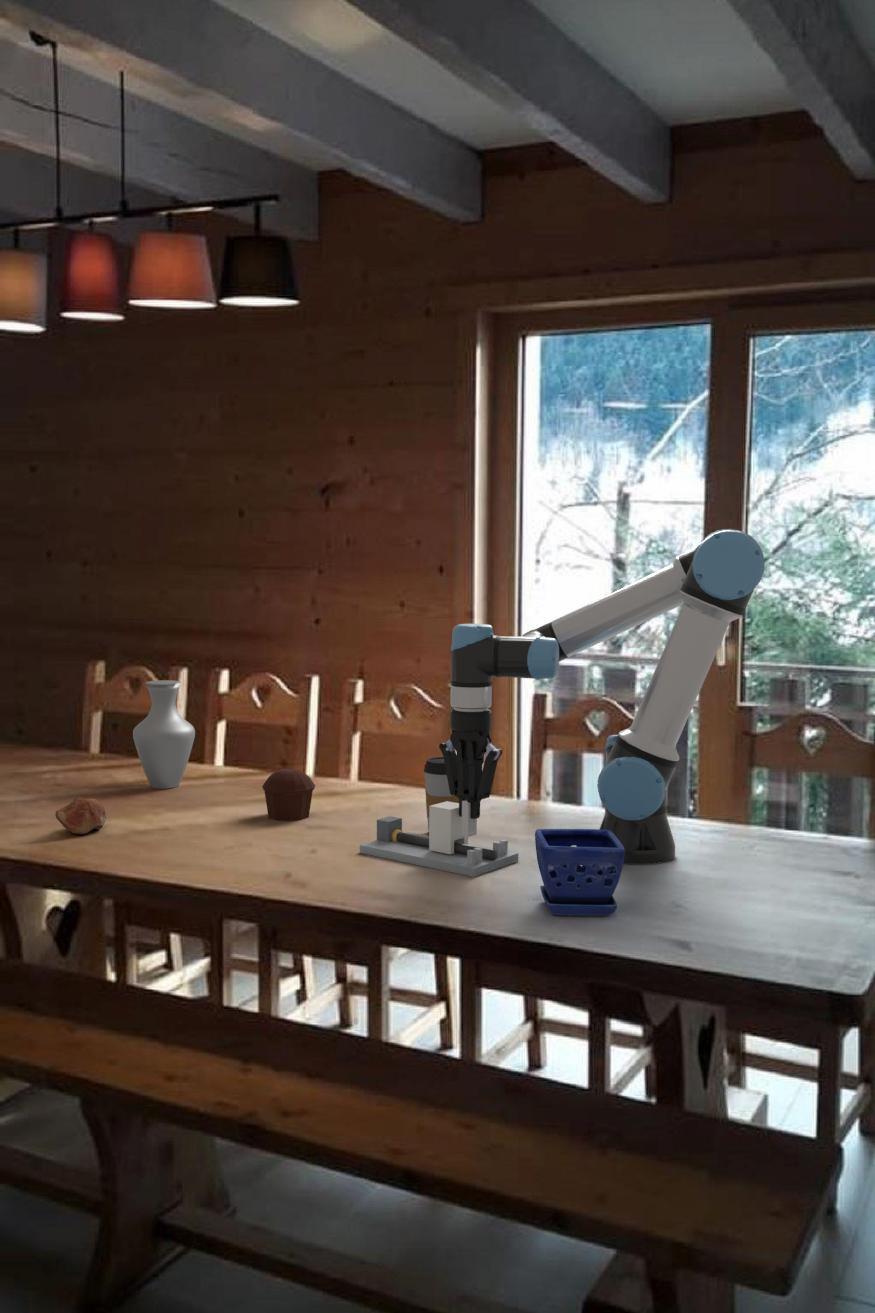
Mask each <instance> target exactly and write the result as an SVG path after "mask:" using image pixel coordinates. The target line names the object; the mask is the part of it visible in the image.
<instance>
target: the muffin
mask: <svg viewBox="0 0 875 1313" xmlns="http://www.w3.org/2000/svg"><path fill="white" fill-rule="evenodd" d="M315 789H316V784H315V783H314V782H313V780H312V778H311V777H310V776H309V775H307V774H306V773H305V772H303V771H302V770H300V769H297V768H281V769H277V770H276V771H274V772H273V773H271V774H270V775H269V776H268V778H267V779H266V780H265V782H264V783H263V785H262V790H263V791H264V792H263V793H264V797H265V802H266V804H265V805H266V809H267V816H268V819H273V820H274V821H275V820H276V821H287V822H291V821H301V820H304V819H309V818H310V811H311V804H312V798H313V792H314V790H315Z"/></svg>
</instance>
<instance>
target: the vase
mask: <svg viewBox="0 0 875 1313" xmlns="http://www.w3.org/2000/svg"><path fill="white" fill-rule="evenodd" d="M145 684H146V687H147V690H148V692H149V695H150V699H151V707H150V710H149V713H148V715H147V716H146V717H145V718H143V720H142V721H140V722H139V723H138V724H137V725H135V727H134V728H133V731H132V738H133V742H134V745H135V746H134V747H135V748H136V751H137V755H138V758H139V761H140V764H141V767H142V769H143V771H144V775H145V777H146V779H147V781H148V782H149V786H150V787H151V788H153V789H156V790H157V789H158V790H163V789H165V790H166V789H167V790H169V789H175V788H178V787H180V784H181V782H182V779H183V776H184V773H185V771H186V769H187V766H188V762H189V760H190V755H191V752H192V748H193V745H194V741H195V737H196V729H195V727H194V726H193V724H191V723H190V722H189V721H187V720H186V719H184V718H183V717H182V716H181V714H180V713H179V711H178V709H177V706H176V703H177V702H176V701H177V696H178V692H179V689H180V686H181V685H182V682H181V681H180V680H179V681H178V680H173V679H172V680H168V679H167V680H166V679H165V680H164V679H162V680H151V681H145Z"/></svg>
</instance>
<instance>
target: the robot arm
mask: <svg viewBox="0 0 875 1313" xmlns="http://www.w3.org/2000/svg"><path fill="white" fill-rule="evenodd" d="M764 571H765V557H764V553H763V550H762V548H761V546H760V545H759V543H758V542H757V541H756V540H755V539H754V538H753V537H752V536H751V535H750V534H747V533H746V532H744V531H741V530H738V529H735V528H723V529H719V530H716V531H714V532H711V533H710V534H708V535H706V536H705V538H703V539H702V540H701V541H700V543H698V544H697V545H695V546H693V547H692V548H690V549H688V550H687V551H685V552H683V553H682V554H680V555H677V556H675V559H674V561H673V563H672V564H670V565H668V566H665V567H664V568H661V569H660V570H657V571H655V572H653V573H651V574H649V575H647V576H645V577H643V578H640V579H638V580H636V581H634V582H632V583H630V584H628V585H625V586H624V587H622V588H620V589H617V590H616V591H613V592H611V593H609V594H606V595H605V596H602V597H600V598H599V599H596V600H593V601H592V602H590V603H588V604H586V605H584V606H582V607H579V608H577V609H575V610H573V611H571V612H569V613H566V614H564V615H563V616H560V617H558V618H556V619H554V620H551V622H550V621H549V622H548V623H546V624H543V625H541V626H539V627H537V628H535V629H531V630H529V631H527V632H525V633H524V634H522V635H521V636H515V635H514V636H511V635H510V636H509V635H508V636H506V635H504V636H502V635H494V630H493V626H492V625H491V624H488V623H487V624H485V623H460V624H457V625H455V626H454V627H453V629H452V633H451V635H452V636H451V648H450V658H451V659H450V664H451V665H450V706H451V707H452V709H451V710H450V721H449V724H450V725H449V728H450V729H451V734H450V736H449V739H448V740H447V741H445V742H440V743H439V746H438V748H439V750H440V752H441V754H442V757H444V762H445V768H446V774H447V779H448V785H449V791H450V794H451V795H455V796H456V797H458V799H459V816H460V817H462V836H465V837H468V838H469V837H472V836H476V835H477V833H478V831H477V829H478V827H477V826H478V825H477V824H478V823H477V822H478V819H479V818H480V817H481V801H482V800H484V799H489V798H490V796H491V791H492V788H493V782H494V779H495V775H496V770H497V765H498V761H499V760H500V758H501V757H502V755H503V749H501V748H497V747H495V745H494V744H492V741H493V740H492V737H491V735H490V733H491V729H492V711H491V709H489V708H491V707H492V700H493V699H492V694H493V691H492V689H493V682H492V681H493V678H494V677H495V678H515V679H517V678H518V679H533V680H537V681H538V680H543V679H544V680H545V679H546V680H547V679H548V680H549V679H552V680H553V679H554V678H556V677H557V675H558V671H559V665H560V664H559V663H560V662H562V661H564V660H566V659H568V658H569V657H572V656H574V655H576V654H579V653H580V652H582V651H585V650H587V649H589V648H591V647H594V646H596V645H598V644H600V643H603V642H605V641H606V640H609V639H611V638H613V637H616V636H617V635H619V634H620V635H621V634H622V633H624V632H626V631H629V630H631V629H633V628H634V627H638V626H639V625H641V624H645V623H646V622H648V621H651V620H653V619H655V618H657V617H659V616H661V615H663V614H666V613H668V612H670V611H672V610H675V609H677V608H679V607H681V606H682V607H681V609H680V611H679V614H678V616H677V619H676V620H675V623H674V626H673V628H672V630H671V632H670V634H669V636H668V639H667V641H666V643H665V646H664V648H663V651H662V653H661V656H660V658H659V660H658V662H657V665H656V666H655V669H654V672H653V674H652V676H651V678H650V681H649V683H648V685H647V688H646V690H645V692H644V695H643V697H642V700H641V701H640V704H639V707H638V708H637V710H636V714H635V716H634V718H633V720H632V723H631V725H630V726H629V727H628V728H625V729H623V730H620V731H619V732H618V734H612V735H611V734H610V735H608V737H606V742H605V743H606V745H605V747H604V752H605V763H604V767H603V768H602V770H601V771H600V773H599V774H598V778H597V783H596V784H597V785H596V786H597V792H598V796H599V799H600V801H601V803H602V805H603V806H604V814H603V818H602V821H601V824H600V827H599V828H598V829H599V830H610V831H612V832H613V834H614V835H615V836H616V837H617V839H618V840H619V841H620V842H621V844H622V845H623V847H624V849H625V854H624V862H623V864H631V865H654V864H662V863H667V862H670V861H672V860H674V859H675V857H676V843H675V840H674V836H673V833H672V830H671V827H670V822H669V819H668V815H667V813H668V786H669V784H670V782H671V779H672V777H673V775H674V773H675V770H676V768H677V765H678V763H679V761H680V759H681V758H680V755H679V753H678V751H677V744H678V743H679V739H680V738H681V735H682V733H683V730H684V727H685V725H686V724H687V720H688V719H689V716H690V714H691V712H692V710H693V708H694V705H695V703H696V701H697V698H698V696H699V693H700V692H701V689H702V687H703V685H704V682H705V680H706V678H707V676H708V673H709V671H710V670H711V666H712V664H713V662H714V659H715V657H716V655H717V653H718V651H719V647H720V646H721V643H722V641H723V639H724V636H725V634H726V632H727V630H728V629H729V628H728V627H729V625H730V623H732V622H733V621H736V620H738V619H740V618H742V617H743V615H744V613H745V610H746V609H747V606H748V604H749V602H750V601H751V597H752V595H753V593H754V590H755V589H756V588H757V586H759V584H760V582H761V581H762V577H763V575H764Z"/></svg>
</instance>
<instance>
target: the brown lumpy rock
mask: <svg viewBox="0 0 875 1313" xmlns="http://www.w3.org/2000/svg"><path fill="white" fill-rule="evenodd" d="M104 807H105V806H103V805H102V803H101V802H100V801H99V800H97V799H96V798H93V797H92V798H84V797H80V796H77V797H75V798H74V800H73V801H72V802H70V803H69V804H67V805H65V806H63V807H61V808H59V809H58V810H56V811H55V813H54V814H55V818H56V819H57V820H58V822H59V823H60V824H61V826H62V827H63V828H64V829H66V830H67V831H69V832H71V833H73V834H75V835H86V834H88V833H90V832H91V831H93V830H100V829H103V827H104V825H105V823H106V821H107V814H106V811H105V808H104Z"/></svg>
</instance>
